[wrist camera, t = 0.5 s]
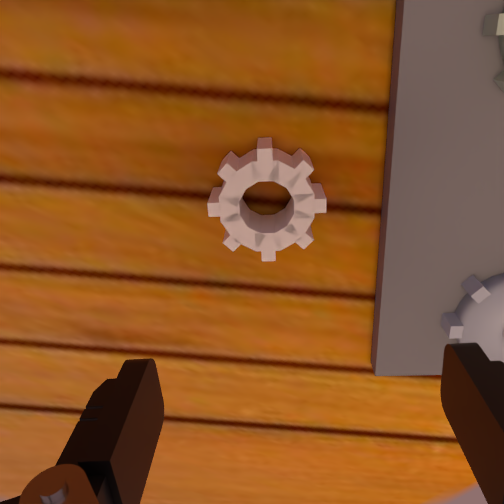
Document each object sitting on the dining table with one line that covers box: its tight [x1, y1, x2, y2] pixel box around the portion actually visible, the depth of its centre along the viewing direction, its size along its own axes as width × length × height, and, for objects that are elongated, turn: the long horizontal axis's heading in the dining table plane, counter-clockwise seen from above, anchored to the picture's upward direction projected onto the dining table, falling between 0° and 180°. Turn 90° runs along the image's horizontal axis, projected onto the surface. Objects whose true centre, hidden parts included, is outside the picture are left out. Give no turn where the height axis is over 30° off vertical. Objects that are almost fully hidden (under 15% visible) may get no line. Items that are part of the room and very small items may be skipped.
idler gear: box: [207, 137, 326, 261], centre depth 27 cm, size 6×6×3 cm
